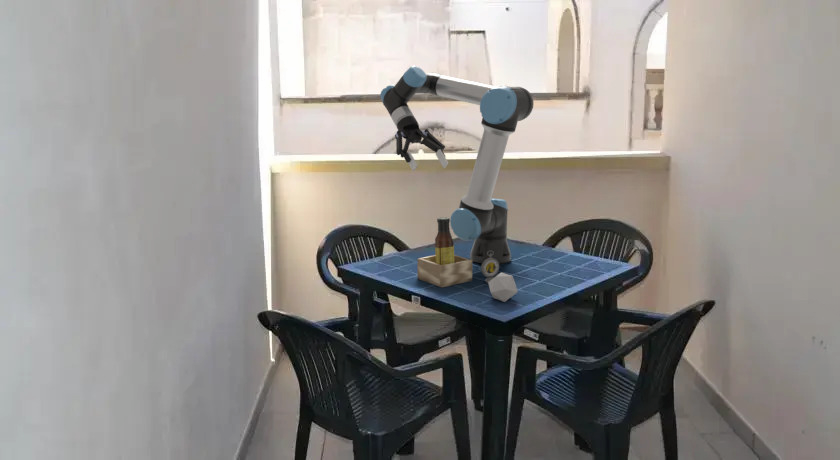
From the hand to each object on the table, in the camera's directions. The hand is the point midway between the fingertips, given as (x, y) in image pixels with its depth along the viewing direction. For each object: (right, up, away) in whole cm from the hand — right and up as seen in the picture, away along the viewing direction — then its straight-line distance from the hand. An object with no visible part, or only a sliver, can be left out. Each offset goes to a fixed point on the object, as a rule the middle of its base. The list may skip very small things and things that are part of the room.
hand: (430, 167), depth 237 cm
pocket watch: (+21, -39, -13) cm, 46 cm away
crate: (+4, -39, -10) cm, 40 cm away
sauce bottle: (+5, -38, -10) cm, 39 cm away
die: (+21, -43, -31) cm, 57 cm away
